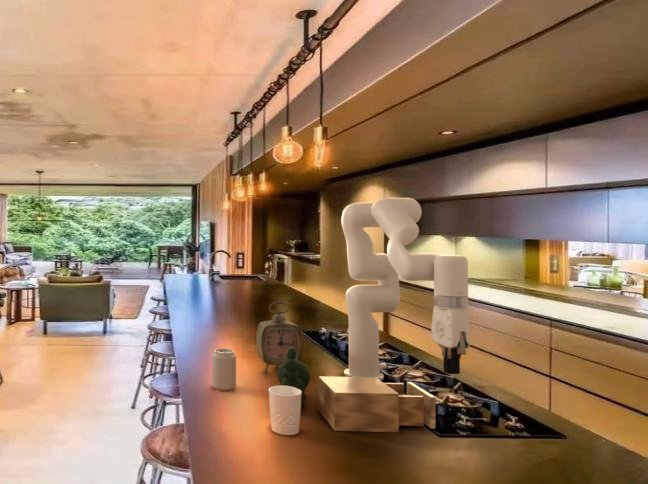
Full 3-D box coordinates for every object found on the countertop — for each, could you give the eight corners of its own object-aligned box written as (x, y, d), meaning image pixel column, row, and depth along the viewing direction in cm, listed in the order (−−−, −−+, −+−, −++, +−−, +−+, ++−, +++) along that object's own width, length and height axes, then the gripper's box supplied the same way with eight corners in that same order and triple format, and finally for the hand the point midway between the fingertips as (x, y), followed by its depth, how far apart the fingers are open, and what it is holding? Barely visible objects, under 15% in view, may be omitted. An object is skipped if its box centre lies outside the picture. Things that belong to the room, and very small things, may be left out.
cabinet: (375, 411, 132) (375, 377, 132) (398, 432, 119) (398, 393, 119) (318, 410, 133) (318, 376, 133) (334, 430, 120) (334, 392, 120)
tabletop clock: (261, 375, 167) (261, 303, 167) (255, 367, 176) (255, 299, 176) (302, 375, 167) (302, 303, 167) (294, 367, 176) (294, 299, 176)
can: (235, 384, 157) (235, 347, 157) (237, 391, 149) (237, 353, 149) (212, 383, 157) (212, 347, 157) (212, 391, 150) (212, 352, 150)
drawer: (426, 410, 131) (426, 382, 131) (453, 428, 119) (453, 397, 119) (357, 409, 132) (357, 380, 132) (376, 427, 120) (376, 396, 120)
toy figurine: (309, 424, 128) (310, 387, 151) (309, 355, 126) (310, 329, 149) (272, 420, 131) (279, 384, 154) (272, 352, 129) (279, 327, 153)
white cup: (301, 426, 123) (301, 387, 123) (301, 438, 115) (301, 397, 115) (270, 422, 125) (270, 384, 125) (267, 434, 118) (267, 393, 118)
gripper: (421, 298, 132) (421, 365, 132) (452, 306, 117) (453, 381, 117) (449, 299, 132) (449, 365, 132) (484, 306, 117) (485, 381, 117)
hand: (451, 372), depth 124 cm, fingers closed
